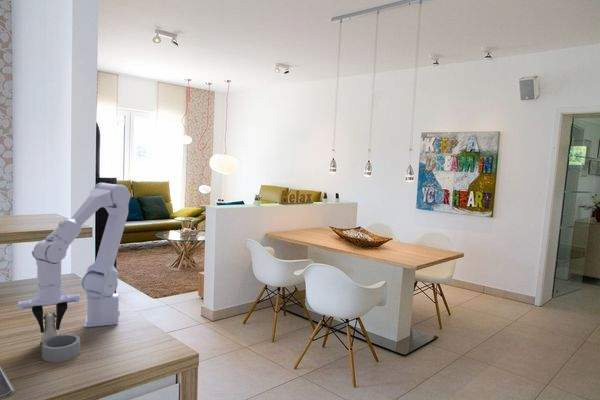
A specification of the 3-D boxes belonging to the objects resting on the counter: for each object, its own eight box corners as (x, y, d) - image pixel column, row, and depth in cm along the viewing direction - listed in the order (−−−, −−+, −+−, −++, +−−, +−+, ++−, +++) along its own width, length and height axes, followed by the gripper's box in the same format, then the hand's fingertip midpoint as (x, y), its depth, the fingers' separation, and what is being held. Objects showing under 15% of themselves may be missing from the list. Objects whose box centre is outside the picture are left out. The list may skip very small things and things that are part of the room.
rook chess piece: (55, 336, 121) (55, 309, 120) (61, 341, 118) (61, 313, 117) (38, 340, 117) (37, 313, 117) (44, 346, 115) (44, 318, 114)
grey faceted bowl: (81, 344, 117) (81, 332, 116) (78, 359, 109) (78, 346, 108) (45, 348, 113) (45, 336, 113) (39, 363, 105) (39, 350, 105)
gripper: (76, 276, 123) (77, 320, 125) (17, 282, 115) (18, 329, 117) (80, 282, 118) (80, 329, 119) (18, 290, 109) (19, 339, 111)
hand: (49, 330), depth 117 cm, fingers closed on rook chess piece, 3 cm apart
